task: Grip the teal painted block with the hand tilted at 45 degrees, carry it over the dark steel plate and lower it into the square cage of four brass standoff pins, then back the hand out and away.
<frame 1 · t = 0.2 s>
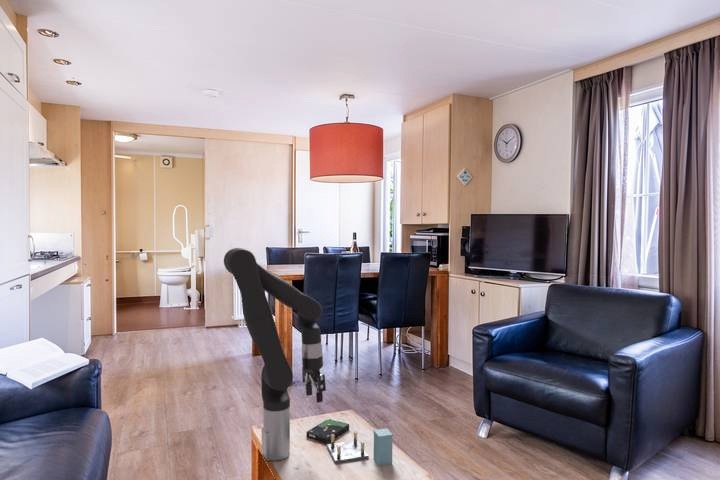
hand: (314, 398, 166), 18 cm above the table, tool pointing down, fingers open, 8 cm apart
disk drive: (328, 435, 178), on the table
chassis plate: (347, 452, 163), on the table
teal block: (382, 460, 157), on the table
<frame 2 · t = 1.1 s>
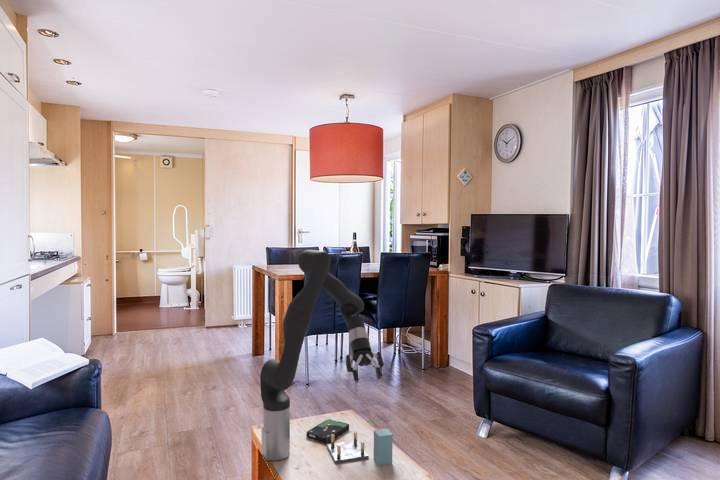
hand: (368, 379, 171), 23 cm above the table, tool tilted 45°, fingers open, 8 cm apart
nothing on the table moved.
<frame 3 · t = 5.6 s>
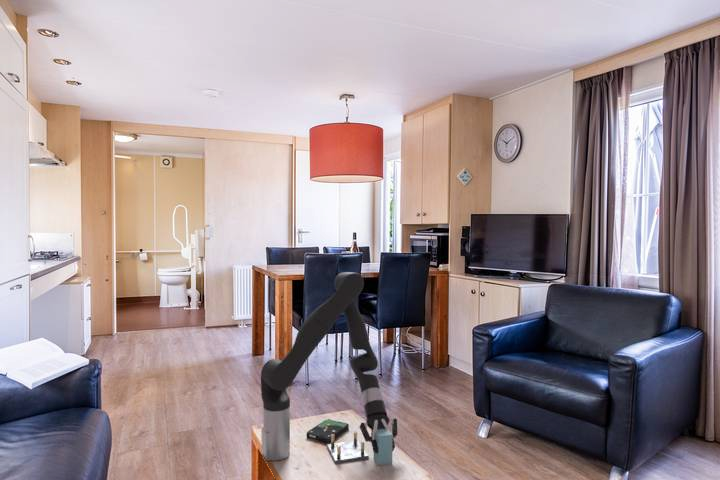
hand: (384, 451, 155), 4 cm above the table, tool tilted 45°, fingers closed on teal block, 5 cm apart
teal block: (382, 460, 157), on the table, touching gripper
everything else where it was.
when the fingers open (7 cm above the table, at t = 11.1 s): teal block drops 1 cm, resting on chassis plate.
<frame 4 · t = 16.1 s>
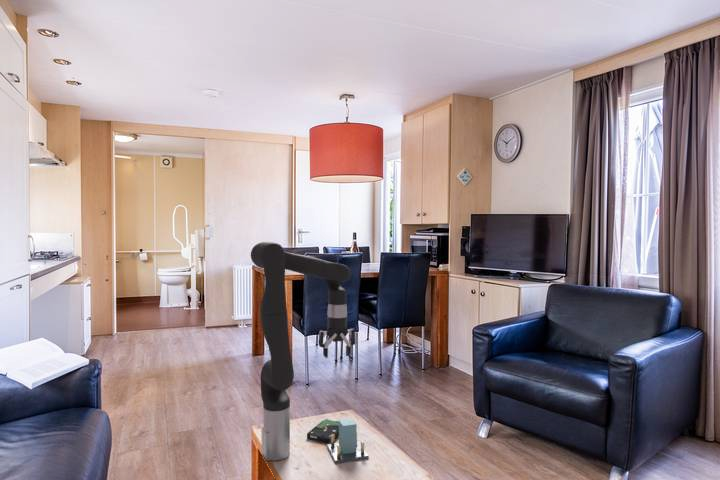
hand: (336, 356, 177), 30 cm above the table, tool pointing down, fingers open, 8 cm apart
teal block: (347, 449, 163), point 1 cm above the table, touching chassis plate
everything else where it was.
at the end: teal block 0.1 cm off-centre on the chassis plate, point 1.0 cm above the chassis plate's base; teal block tilted 0°; the gripper is holding nothing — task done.
